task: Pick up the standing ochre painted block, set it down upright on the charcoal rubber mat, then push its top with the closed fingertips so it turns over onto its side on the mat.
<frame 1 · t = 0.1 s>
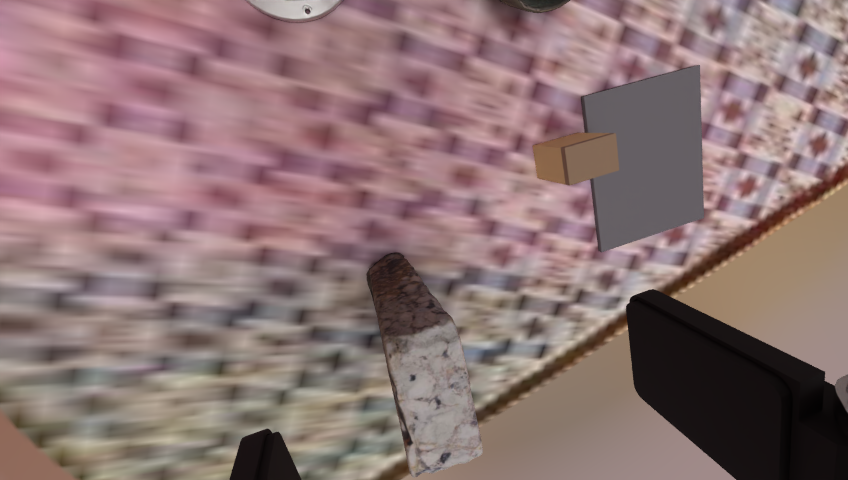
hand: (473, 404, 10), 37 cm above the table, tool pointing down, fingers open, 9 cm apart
stone block: (394, 303, 49), on the table
block: (557, 155, 49), on the table
mat: (645, 161, 52), on the table
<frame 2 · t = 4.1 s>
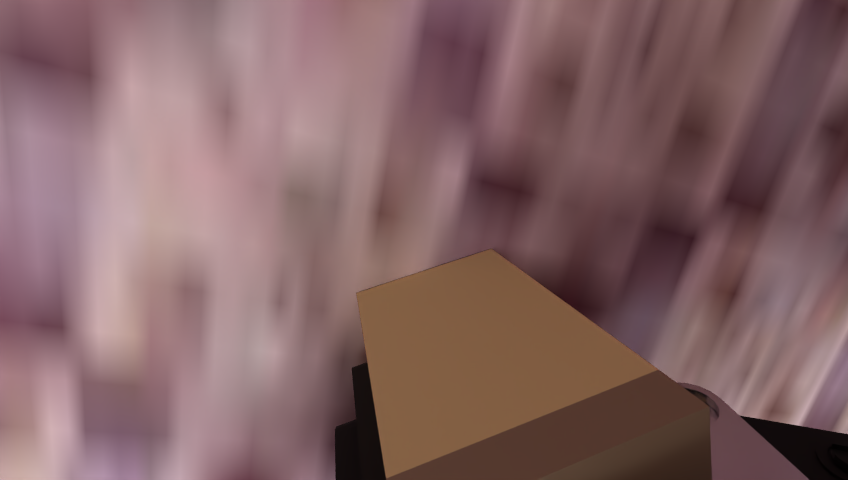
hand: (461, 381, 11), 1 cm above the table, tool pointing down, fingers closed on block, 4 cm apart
block: (449, 359, 12), on the table, touching gripper
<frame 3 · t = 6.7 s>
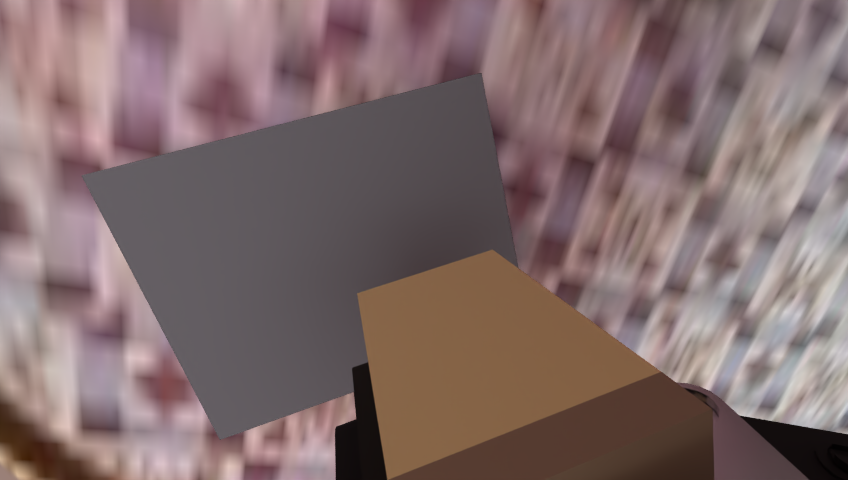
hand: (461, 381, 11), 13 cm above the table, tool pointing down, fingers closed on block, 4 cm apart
block: (450, 360, 12), point 12 cm above the table, touching gripper
mat: (343, 262, 23), on the table
when the fingers open (2 cm above the table, at t = 9.2 s): block stays where it is, resting on mat.
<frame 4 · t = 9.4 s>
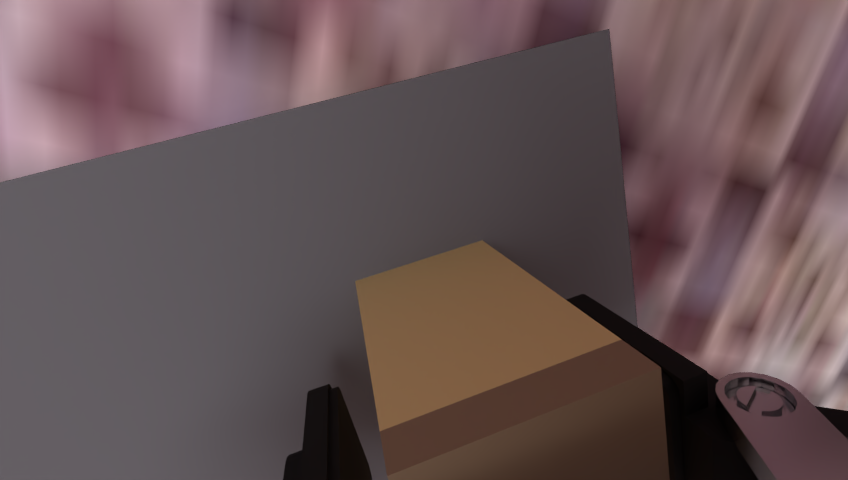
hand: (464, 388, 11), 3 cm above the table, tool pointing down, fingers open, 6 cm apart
block: (443, 344, 13), point 1 cm above the table, touching mat
mat: (351, 368, 13), on the table
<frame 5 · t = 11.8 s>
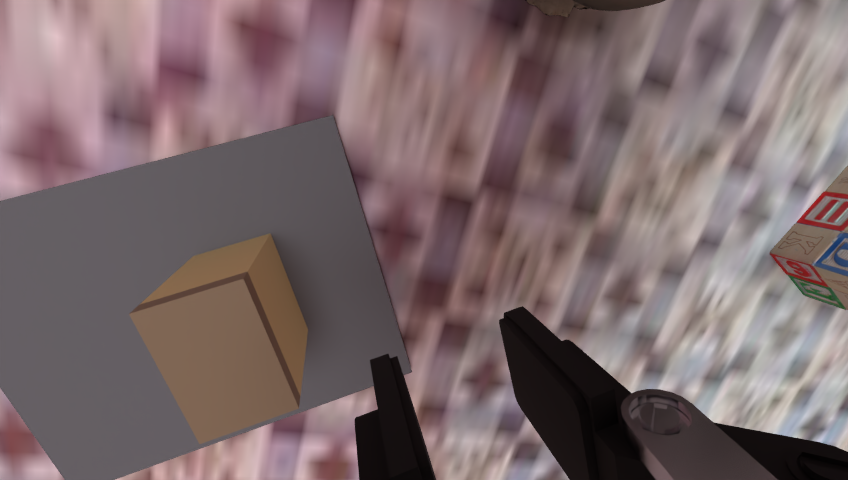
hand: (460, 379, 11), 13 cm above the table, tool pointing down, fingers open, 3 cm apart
block: (253, 294, 22), point 1 cm above the table, touching mat
mat: (201, 308, 22), on the table
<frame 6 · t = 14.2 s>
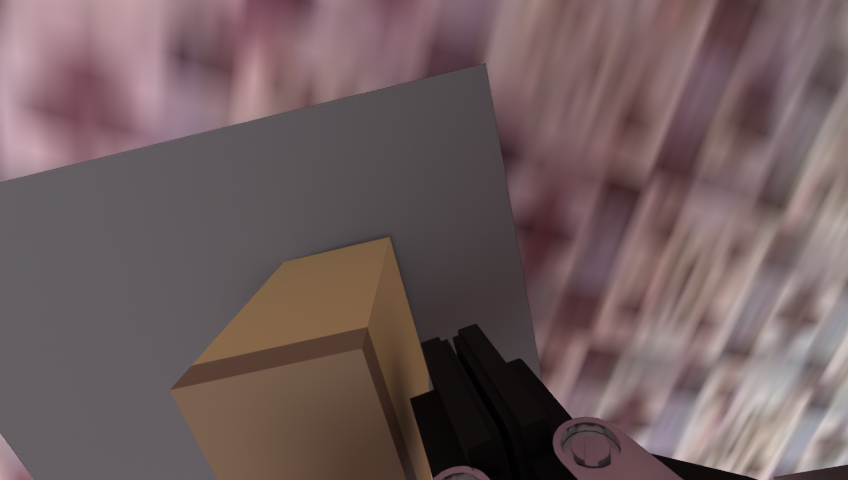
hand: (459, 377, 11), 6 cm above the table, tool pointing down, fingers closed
block: (359, 320, 15), point 1 cm above the table, tilted 13°, touching mat
mat: (286, 333, 16), on the table
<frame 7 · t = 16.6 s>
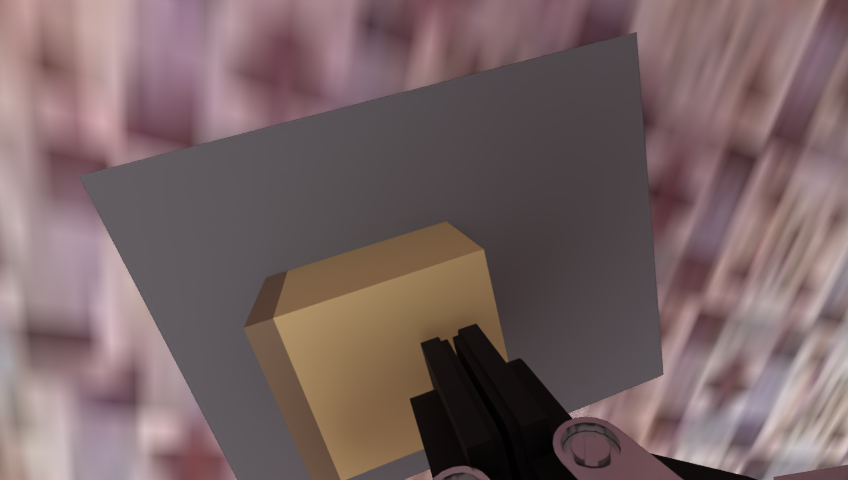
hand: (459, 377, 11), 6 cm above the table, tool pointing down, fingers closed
block: (480, 309, 15), point 3 cm above the table, tilted 90°, touching mat
mat: (436, 293, 17), on the table
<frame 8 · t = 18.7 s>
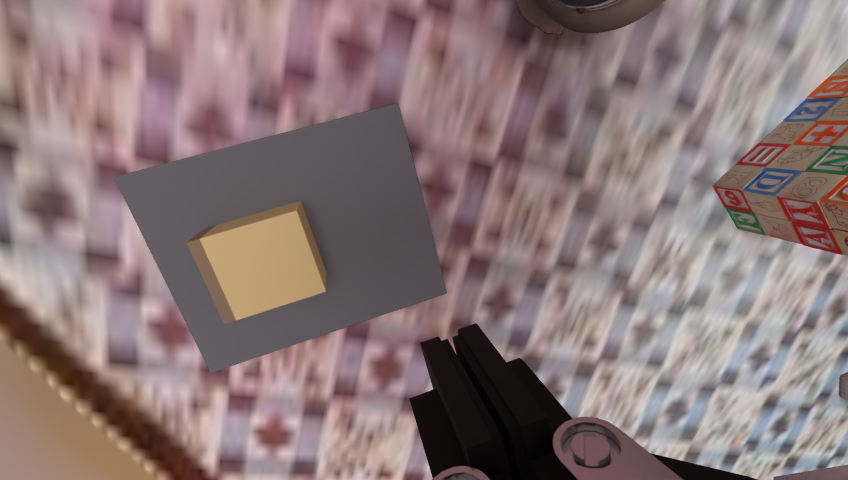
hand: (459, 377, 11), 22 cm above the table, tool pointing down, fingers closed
stack of blocks: (800, 134, 40), on the table
block: (313, 244, 29), point 3 cm above the table, tilted 90°, touching mat
mat: (301, 240, 31), on the table
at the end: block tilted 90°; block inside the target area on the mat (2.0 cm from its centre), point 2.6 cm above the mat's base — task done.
